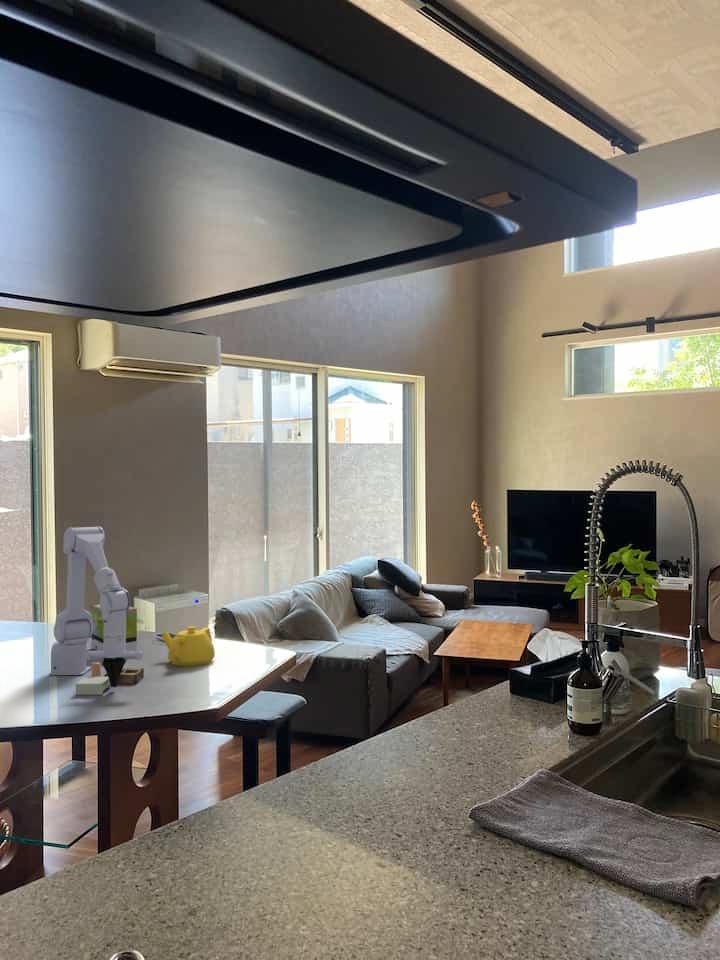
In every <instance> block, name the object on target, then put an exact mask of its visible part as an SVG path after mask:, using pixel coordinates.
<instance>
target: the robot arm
mask: <svg viewBox="0 0 720 960" xmlns="http://www.w3.org/2000/svg"><path fill="white" fill-rule="evenodd" d="M105 539H106V537H105V531H104V529H103V528H102V526H99V525H96V526H83V527H82V526H80V527H72V526H71V527H70V526H69V527H67V529H66V530H65V531H64V533H63V543H62V547H63V553H64V554H66V555H67V575H66V576H67V578H66V579H67V581H66V583H67V584H66V607H65V609H64V610H62V611H61V612H60V613H58V614H57V615H56V616H55V617H56V618H55V622H54V627H53V637H54V639H55V640H56V641H55V642H54V643H53V644H52V645H51V651H50V672H49V675H50V676H83V675H84V674H86V673H87V672H89V671H91V670H92V666H87V661H90V660H103V661H102V665H101V666H102V667H103V668H104V670H105V673H107V675H108V677H109V681H110V686H111V687H110V688H117V687H118V686H119V684H118V682H119V677H120V674H121V671H122V669H123V668H124V666H125V664H126V662H127V660H136V661H141V660H142V659H143V658H144V657H143V651H142V650H141V651H140V650H139V651H138V650H137V651H130V650H126V611H127V610H128V609H129V607H131V596H130V594H129V591H128V590H127V589H126V588H125V587H123V586H121V584H120V582H119V578H118V577H117V574H116V572H115V570H114V569H113V568H110V567H109V564H108V561H107V559H106V554H105V552H104V545H105ZM87 558H88V560H89V563H90V564H91V567H92V568H93V570H94V572H95V574H94V576H93V581H94V584H95V586H96V588H97V591H98V593H99V596H100V599H99V605H100V608H101V612H102V619H104V639H103V650H101V651H97V650H89V651H87V642H89V640H90V639H91V636H92V634H93V623H92V615H91V612H89V611H88V610H86V608H85V596H86V595H85V592H86V591H85V590H86V567H87V566H86V565H87V561H86V560H87Z"/></svg>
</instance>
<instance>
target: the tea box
mask: <svg viewBox="0 0 720 960" xmlns="http://www.w3.org/2000/svg"><path fill="white" fill-rule="evenodd" d="M137 609H138V608H135V607H133V606H130V607H129V609H128V610H127V611H126V650H130V651H138V649H137V648H138V647H137V646H138V642H137V641H138V640H137V639H138V635H137V634H138V633H137V631H138V630H137V629H138V625H137V623H138V620H137V619H138V616H137V615H138V613H137V612H138V610H137ZM90 614H91V615H92V623H93V634H92V636H91V637H90V648H91V649H94V650H95V651H101V650H103V639H104V619H102V612H101V608H100V604H96V605H95V604H93V605H90Z"/></svg>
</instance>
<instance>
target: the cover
mask: <svg viewBox="0 0 720 960" xmlns="http://www.w3.org/2000/svg"><path fill="white" fill-rule="evenodd" d="M108 688H109V689H110V688H112V687H111V686H110V681H109V677H104V676H101V677H91V676H83V677H82V678H81V679H80V680H78V681H77V682H76V683H75V695H76V696H79V695H93V696H95V695H96V696H97V695H101V696H102V695H103V694H104V691H105V690H106V689H108Z"/></svg>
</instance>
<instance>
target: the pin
mask: <svg viewBox="0 0 720 960" xmlns="http://www.w3.org/2000/svg"><path fill="white" fill-rule="evenodd" d="M101 667H102V665H101V661H93V662H91V669H90V671H91V676H90V677H102V675H101V674H102V673H101V672H102V670H101V669H102V668H101Z"/></svg>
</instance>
